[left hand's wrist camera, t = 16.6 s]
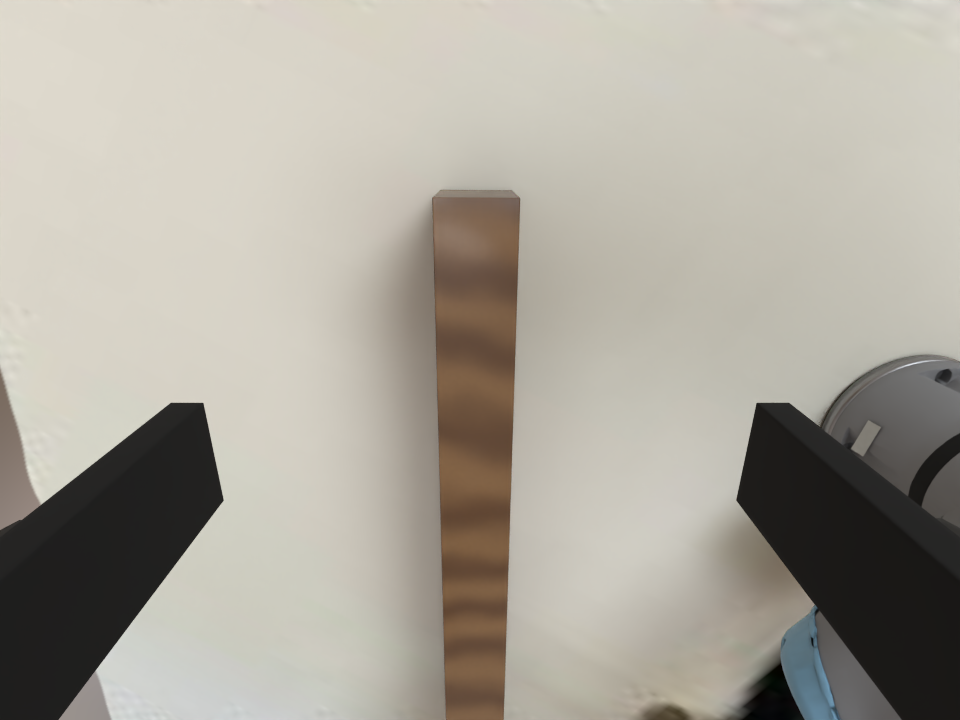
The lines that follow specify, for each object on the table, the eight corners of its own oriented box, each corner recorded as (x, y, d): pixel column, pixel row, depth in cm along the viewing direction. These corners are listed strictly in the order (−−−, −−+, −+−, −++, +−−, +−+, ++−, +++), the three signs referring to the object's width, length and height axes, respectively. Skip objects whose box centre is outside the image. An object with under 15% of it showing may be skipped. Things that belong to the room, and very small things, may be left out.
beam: (440, 189, 41) (432, 197, 33) (512, 190, 41) (520, 197, 33) (450, 702, 61) (447, 777, 54) (498, 702, 61) (501, 777, 54)
